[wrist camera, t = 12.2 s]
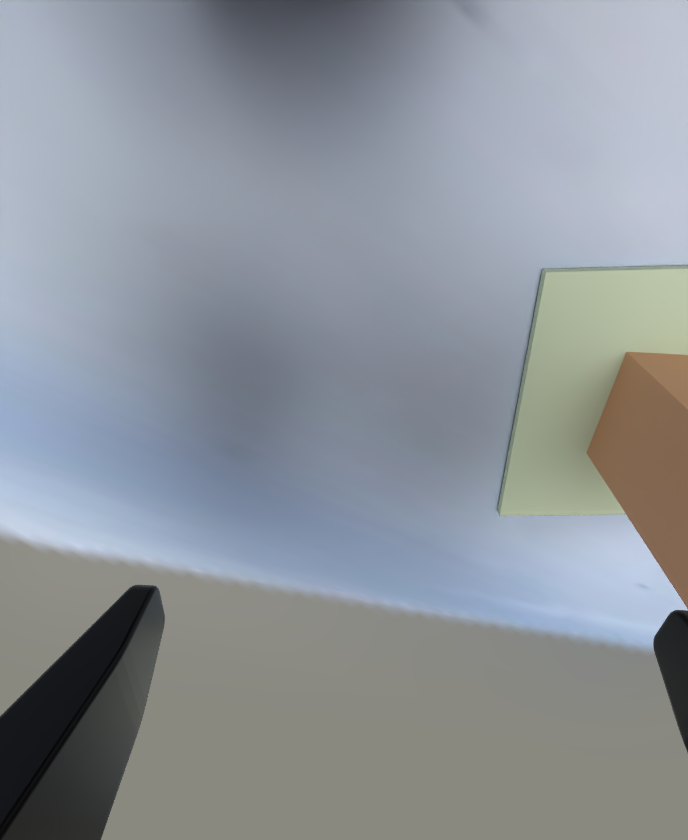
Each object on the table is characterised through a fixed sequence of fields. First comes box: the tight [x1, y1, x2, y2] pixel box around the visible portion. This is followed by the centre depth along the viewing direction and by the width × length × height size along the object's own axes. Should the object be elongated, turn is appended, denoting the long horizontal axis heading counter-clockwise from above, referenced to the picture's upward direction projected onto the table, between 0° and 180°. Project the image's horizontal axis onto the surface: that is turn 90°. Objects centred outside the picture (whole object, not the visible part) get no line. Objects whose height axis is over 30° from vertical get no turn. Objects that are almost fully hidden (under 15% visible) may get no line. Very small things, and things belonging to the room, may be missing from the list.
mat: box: [497, 265, 688, 516], centre depth 21 cm, size 12×12×1 cm
